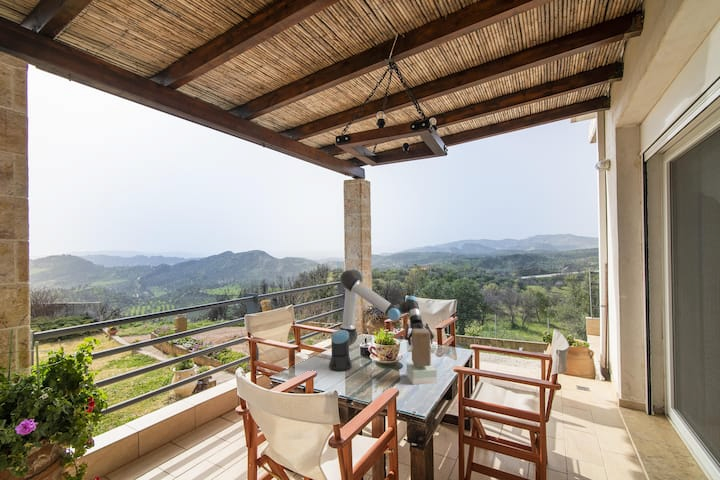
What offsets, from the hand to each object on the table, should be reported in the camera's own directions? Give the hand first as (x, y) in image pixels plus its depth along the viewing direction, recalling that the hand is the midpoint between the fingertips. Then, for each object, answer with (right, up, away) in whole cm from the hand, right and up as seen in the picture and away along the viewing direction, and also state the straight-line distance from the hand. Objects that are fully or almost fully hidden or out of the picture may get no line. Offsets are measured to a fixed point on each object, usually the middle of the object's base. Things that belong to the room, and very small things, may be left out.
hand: (421, 349), depth 193 cm
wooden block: (0, -9, +2) cm, 10 cm away
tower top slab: (0, -15, +3) cm, 16 cm away
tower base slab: (0, -19, +2) cm, 20 cm away
